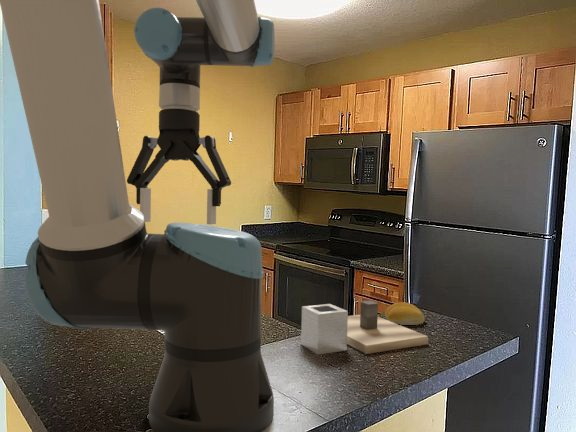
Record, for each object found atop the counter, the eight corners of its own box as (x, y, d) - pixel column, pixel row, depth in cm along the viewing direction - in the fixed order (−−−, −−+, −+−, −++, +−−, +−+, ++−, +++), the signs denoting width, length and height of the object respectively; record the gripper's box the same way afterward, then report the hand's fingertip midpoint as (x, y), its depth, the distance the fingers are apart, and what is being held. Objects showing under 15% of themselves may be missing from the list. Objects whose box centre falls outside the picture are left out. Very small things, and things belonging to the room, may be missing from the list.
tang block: (427, 344, 88) (429, 309, 88) (366, 354, 82) (367, 317, 82) (370, 320, 105) (370, 291, 104) (314, 326, 98) (315, 295, 98)
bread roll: (388, 326, 101) (389, 308, 100) (383, 316, 110) (384, 298, 109) (428, 328, 100) (429, 309, 100) (419, 317, 109) (420, 300, 109)
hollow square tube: (346, 350, 84) (347, 311, 84) (317, 354, 81) (318, 314, 81) (329, 340, 89) (330, 303, 89) (301, 344, 87) (301, 306, 86)
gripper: (248, 113, 91) (246, 224, 91) (130, 115, 96) (129, 220, 97) (236, 105, 83) (233, 226, 84) (108, 108, 89) (107, 221, 89)
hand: (177, 223), depth 90 cm, fingers open, 13 cm apart
